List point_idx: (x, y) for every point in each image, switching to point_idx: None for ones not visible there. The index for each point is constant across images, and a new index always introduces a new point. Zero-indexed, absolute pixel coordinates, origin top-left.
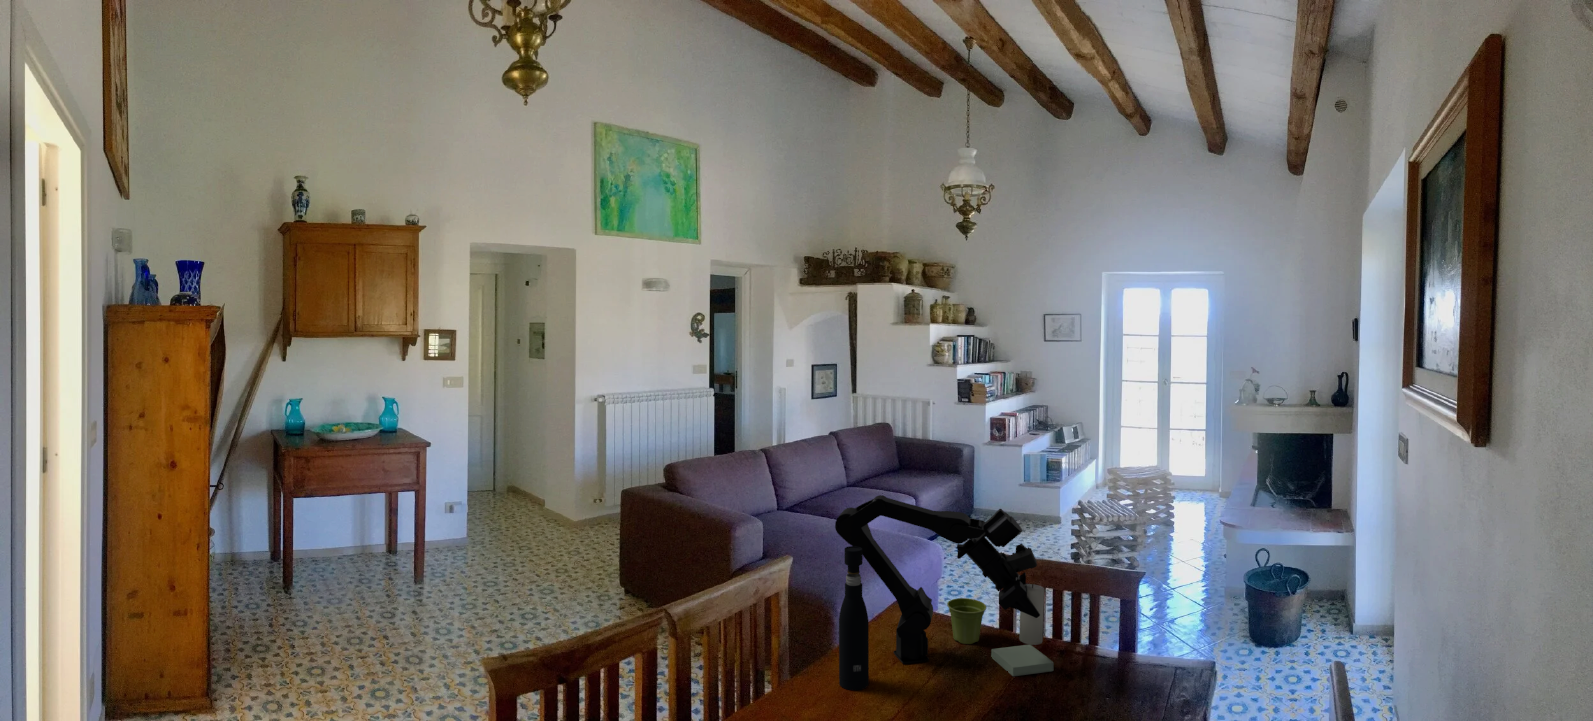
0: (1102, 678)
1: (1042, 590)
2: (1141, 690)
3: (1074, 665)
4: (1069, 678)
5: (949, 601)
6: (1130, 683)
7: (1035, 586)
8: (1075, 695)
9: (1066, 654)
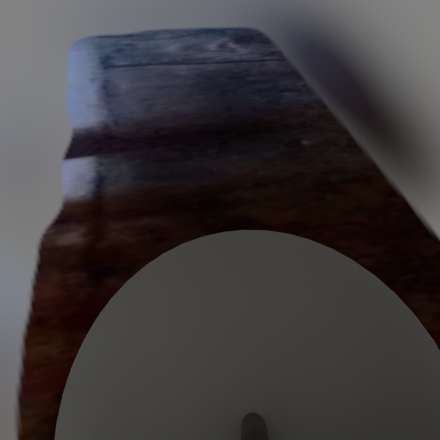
0: (215, 165)
1: (279, 243)
2: (235, 98)
3: (172, 229)
4: (250, 226)
5: None
6: (213, 117)
7: (149, 387)
8: (332, 198)
9: (114, 258)
